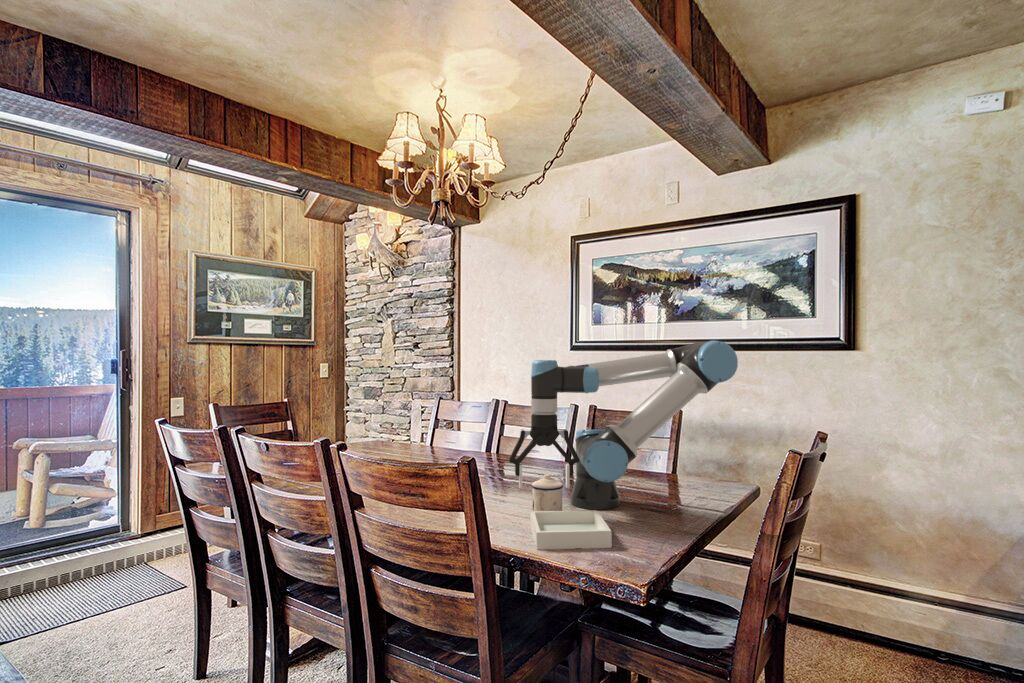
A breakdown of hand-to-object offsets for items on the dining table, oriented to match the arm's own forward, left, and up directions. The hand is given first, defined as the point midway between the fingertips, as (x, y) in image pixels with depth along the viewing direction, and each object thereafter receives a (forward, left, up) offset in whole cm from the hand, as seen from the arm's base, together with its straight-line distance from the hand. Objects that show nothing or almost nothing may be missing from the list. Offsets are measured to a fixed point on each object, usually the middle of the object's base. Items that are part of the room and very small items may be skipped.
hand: (544, 487), depth 157 cm
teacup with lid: (0, 0, -9) cm, 9 cm away
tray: (-4, +18, -8) cm, 20 cm away
